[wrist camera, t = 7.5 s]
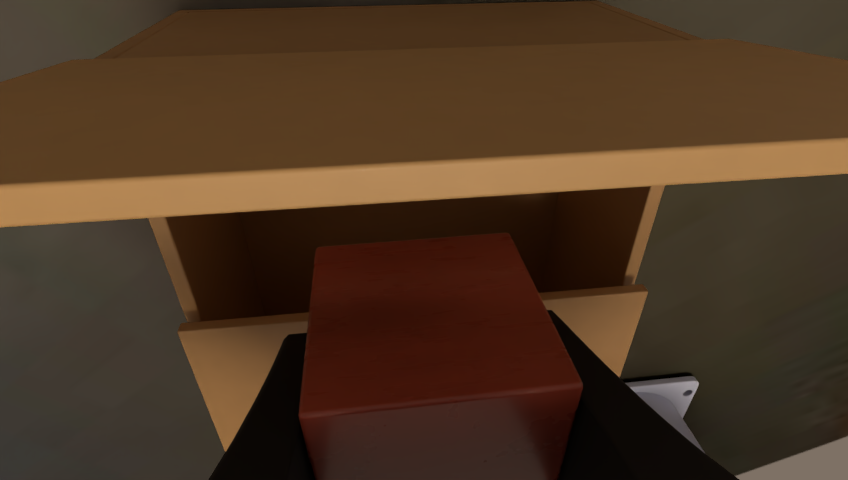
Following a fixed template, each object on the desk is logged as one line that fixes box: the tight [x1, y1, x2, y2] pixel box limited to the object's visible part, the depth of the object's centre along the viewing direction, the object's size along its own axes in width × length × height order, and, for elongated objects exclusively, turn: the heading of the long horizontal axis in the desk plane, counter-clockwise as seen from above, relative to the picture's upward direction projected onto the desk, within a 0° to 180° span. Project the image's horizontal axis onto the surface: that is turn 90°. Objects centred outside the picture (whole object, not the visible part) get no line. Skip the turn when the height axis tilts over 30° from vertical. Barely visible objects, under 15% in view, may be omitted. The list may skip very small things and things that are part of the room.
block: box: [298, 233, 583, 480], centre depth 9 cm, size 4×4×4 cm
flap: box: [0, 39, 848, 227], centre depth 7 cm, size 6×13×1 cm
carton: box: [95, 1, 704, 452], centre depth 16 cm, size 13×13×7 cm
